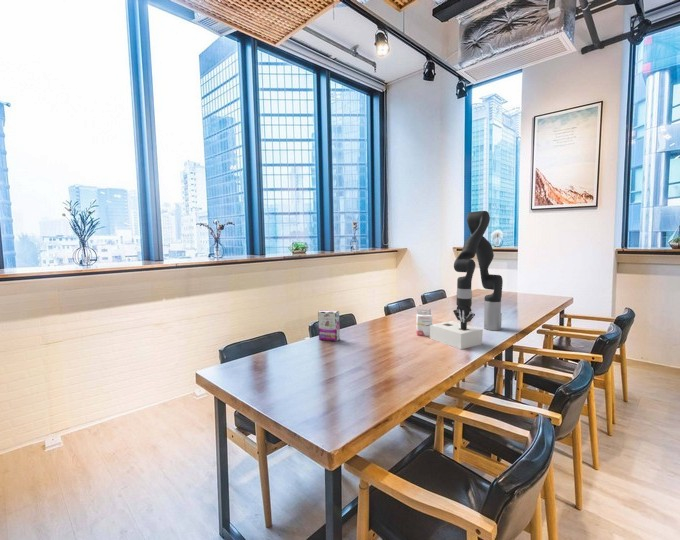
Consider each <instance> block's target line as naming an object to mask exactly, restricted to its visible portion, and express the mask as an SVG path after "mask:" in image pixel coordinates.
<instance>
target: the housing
mask: <svg viewBox="0 0 680 540" xmlns="http://www.w3.org/2000/svg"><path fill="white" fill-rule="evenodd" d="M444 324H451V325H452V326H445V325H444ZM460 328H461V322H456V321H453V320H449V321H443V322H438V323H432V325H430V336H429V339H431V340H433V341H435V342H438V343H441V344H445V345H447V346H450V347H453V348H456V349H459V350H464V349H468V348H472V347H477V346H480V345H483V335H484V334H483V332H484V331H483V330H484V328H480V327H475V326H473V325H468V324H467V328H466V329H469V330H466V331H463V330H459V329H460Z"/></svg>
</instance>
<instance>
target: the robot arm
mask: <svg viewBox="0 0 680 540" xmlns="http://www.w3.org/2000/svg"><path fill="white" fill-rule="evenodd" d="M490 218H491V217H490V213H489V212H488V211H486V210H479V211H478V210H477V211H471V212H470V211H469V212H468V213H467V215H466V222H467V227H468V229H469V232H470V235H469V237H467V239H466V240H465V242H464V243H463V246H462V250H461V252H460V253H459V255H458V256H457V257H456V259H455V260H454V263H453V268H454V271H455V272H457V273H466V274H465V276H464V275H463V276H459V277H457V282H456V286H457V287H456V309H453V311H452V312H453V314H454V315H455V317H456V318H455V319H456V320H457V321H459V323H461V329H463V330H465V329H466V328H467V325H468V323H470V322H471V321H472V319H474V317H475V316H476V314H475V313H474V312H472V304H473V303H472V302H473V301H472V300H473V299H472V297H473V295H472V294H473V292H472V283H473V282H472V281H473V276H474V272H475V270H476V262H475V260H474V258H475V256H476V259H477V262H478V267H479V272H480V281H481V284H482V285H481V286H482V288H483V289H484V290H490V291H491V290H492V291H493V292H492V293H491V294H486V295H484V308H483V309H484V311H483V312H484V314H483V316H484V317H483V329H484V330H489V331H499V330H501V329H502V318H503V317H502V315H503V314H502V311H501V310H502V297H503V296H502V295H503V294H502V293H503V285H504V284H503V277H502V275H500V274H490V272H489V267H490V265H491V263H492V262H493V259H494V250H493V246H492V244H491V242H490V241H489V240H488V239H487V238H486V237H485V236H484V235H485V232H486V231H487V228H488V227H489V224H490V221H491V220H490Z"/></svg>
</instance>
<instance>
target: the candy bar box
mask: <svg viewBox="0 0 680 540" xmlns="http://www.w3.org/2000/svg"><path fill="white" fill-rule="evenodd" d="M317 316H318V319H317V320H318V339H319V340H320V341H327V342H338V341H340V340H341V338H340V337H341V335H340V334H341V332H340V330H341V329H340V311H339V310H326V309H325V310H323V309H321V310H319V311H318V312H317Z"/></svg>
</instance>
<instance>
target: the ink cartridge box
mask: <svg viewBox="0 0 680 540" xmlns="http://www.w3.org/2000/svg"><path fill="white" fill-rule="evenodd" d="M432 324H433V315H432V310H431V308H429V309H428V308H422V309H421V308H416V323H415V325H416V330H415V331H416V332H415V333H416V336H420V337H421V336H423V337H424V336H427V337H430V325H432Z"/></svg>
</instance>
